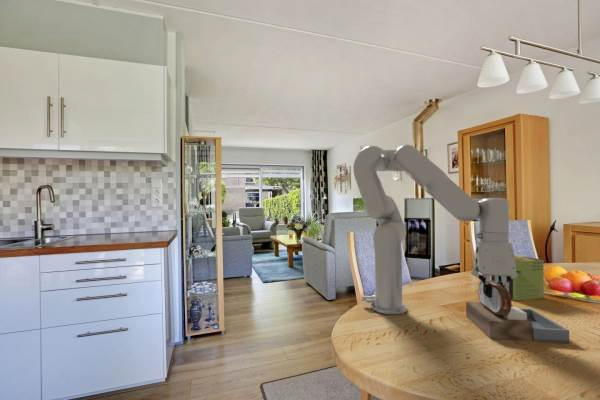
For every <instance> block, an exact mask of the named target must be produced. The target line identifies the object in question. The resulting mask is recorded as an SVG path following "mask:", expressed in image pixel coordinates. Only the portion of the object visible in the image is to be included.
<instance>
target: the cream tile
mask: <svg viewBox="0 0 600 400" xmlns="http://www.w3.org/2000/svg"><path fill="white" fill-rule="evenodd" d="M521 309H522V308H521ZM521 309H519V307H517V306H513V307H511V311H510V313H509V314H508V315H507V316H504V317H505V318H507V319H510V320H527V313H525V312H524V311H522V310H521Z"/></svg>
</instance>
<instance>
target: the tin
mask: <svg viewBox="0 0 600 400" xmlns="http://www.w3.org/2000/svg"><path fill="white" fill-rule="evenodd" d="M490 285H491V286H492V297H491V298H488V297H487V296H485V294H484V293H483V282H482V281H481V280H480V282H479V284H478V295H477V296H478V299H479V302H481V303H482V304H483V305H484V306H485V307H486V308H488V309H489V310H490V311H492V312H493V313H494V314H497V315H503V316H507V315H508V314H509V313H510V311H511V304H512V300H511V297H510V294H509V292H508V290H507V289H506V288H505V287H503V286H501V285H500V284H498V283H496V282H494V281H493V280H491V279H490Z"/></svg>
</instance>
